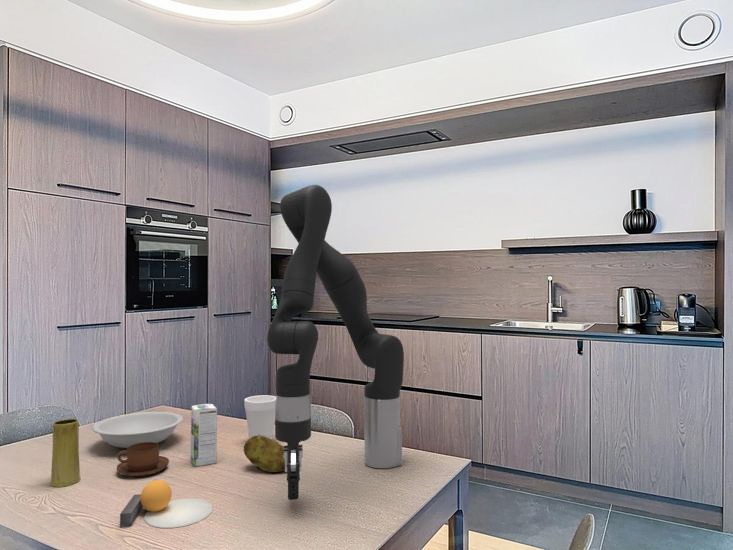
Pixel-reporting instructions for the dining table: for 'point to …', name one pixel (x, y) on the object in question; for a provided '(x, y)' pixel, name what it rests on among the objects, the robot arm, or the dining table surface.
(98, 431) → the soup bowl
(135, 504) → the strip
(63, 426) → the vase
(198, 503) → the white flat disc
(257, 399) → the foam cup
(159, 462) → the cup and saucer
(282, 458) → the potato
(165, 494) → the ball
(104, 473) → the dining table surface
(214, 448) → the syrup box
